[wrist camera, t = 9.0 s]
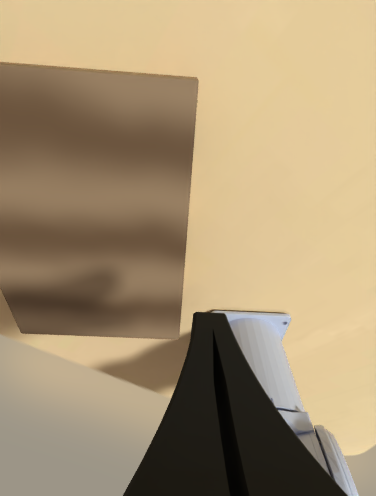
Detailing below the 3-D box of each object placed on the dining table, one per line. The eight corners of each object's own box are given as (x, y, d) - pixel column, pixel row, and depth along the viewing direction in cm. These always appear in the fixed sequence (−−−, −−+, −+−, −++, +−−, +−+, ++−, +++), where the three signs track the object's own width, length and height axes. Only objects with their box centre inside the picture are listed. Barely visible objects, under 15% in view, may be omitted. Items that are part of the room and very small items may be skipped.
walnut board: (179, 314, 27) (178, 339, 24) (36, 307, 26) (21, 333, 24) (196, 77, 15) (198, 80, 13) (-57, 57, 15) (-106, 56, 12)
